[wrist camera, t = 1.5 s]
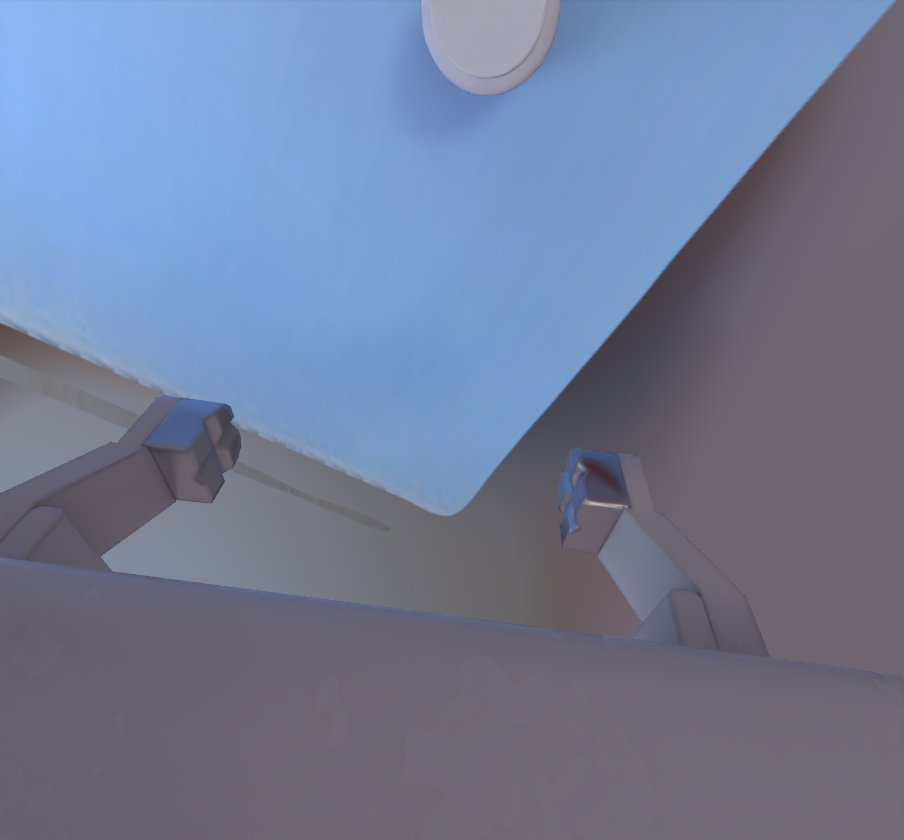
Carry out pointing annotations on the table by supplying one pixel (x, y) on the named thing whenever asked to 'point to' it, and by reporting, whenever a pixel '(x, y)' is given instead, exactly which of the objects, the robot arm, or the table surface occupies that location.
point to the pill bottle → (489, 40)
